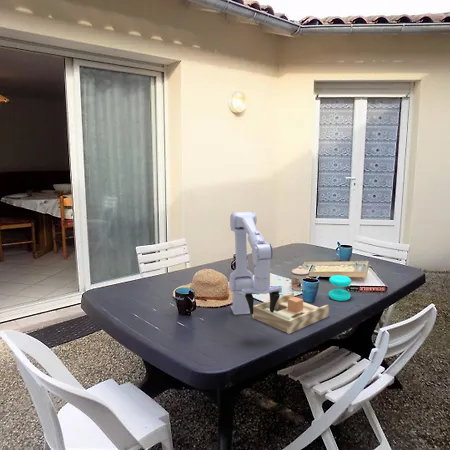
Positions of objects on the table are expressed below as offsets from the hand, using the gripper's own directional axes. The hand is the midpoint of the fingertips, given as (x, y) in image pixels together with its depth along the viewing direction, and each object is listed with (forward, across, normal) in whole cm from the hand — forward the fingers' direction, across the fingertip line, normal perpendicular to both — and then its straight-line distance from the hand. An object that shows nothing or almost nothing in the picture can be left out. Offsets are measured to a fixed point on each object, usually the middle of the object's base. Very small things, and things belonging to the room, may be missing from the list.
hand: (261, 312), depth 142 cm
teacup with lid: (+10, +36, +47) cm, 60 cm away
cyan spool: (+10, +48, +32) cm, 59 cm away
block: (+8, +20, +17) cm, 28 cm away
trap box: (+10, +18, +16) cm, 26 cm away
